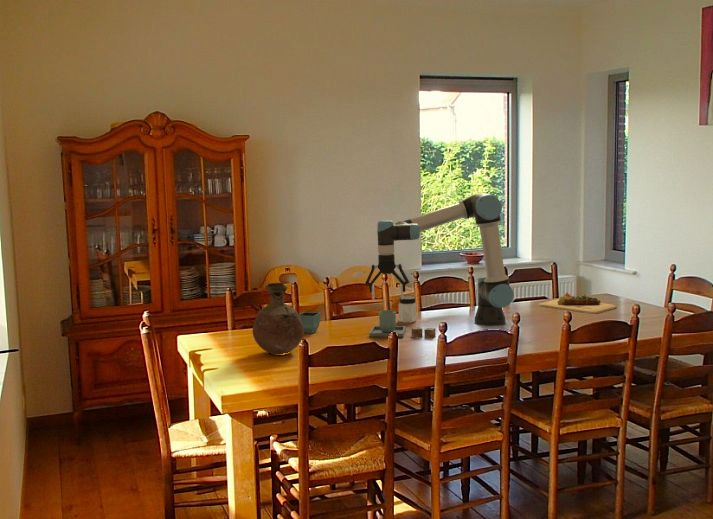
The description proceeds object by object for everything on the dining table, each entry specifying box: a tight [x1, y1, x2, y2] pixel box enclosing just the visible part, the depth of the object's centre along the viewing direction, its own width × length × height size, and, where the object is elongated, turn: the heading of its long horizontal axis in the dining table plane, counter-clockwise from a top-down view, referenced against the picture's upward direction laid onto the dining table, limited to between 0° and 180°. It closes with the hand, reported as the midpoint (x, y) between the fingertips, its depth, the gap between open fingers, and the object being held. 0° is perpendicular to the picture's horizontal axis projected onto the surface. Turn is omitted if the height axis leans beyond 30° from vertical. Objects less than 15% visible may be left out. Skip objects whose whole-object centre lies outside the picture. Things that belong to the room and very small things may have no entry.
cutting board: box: [538, 292, 617, 315], centre depth 415 cm, size 35×23×8 cm
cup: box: [378, 309, 397, 333], centre depth 360 cm, size 8×8×10 cm
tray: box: [368, 325, 407, 339], centre depth 360 cm, size 16×16×2 cm
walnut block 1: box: [411, 326, 423, 339], centre depth 353 cm, size 4×4×4 cm
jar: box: [398, 295, 418, 323], centre depth 388 cm, size 9×8×12 cm
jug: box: [251, 282, 304, 355], centre depth 326 cm, size 22×22×30 cm
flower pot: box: [298, 311, 321, 334], centre depth 367 cm, size 9×9×9 cm
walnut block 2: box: [423, 327, 436, 339], centre depth 351 cm, size 4×4×4 cm
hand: (387, 299), depth 358 cm, fingers open, 13 cm apart
